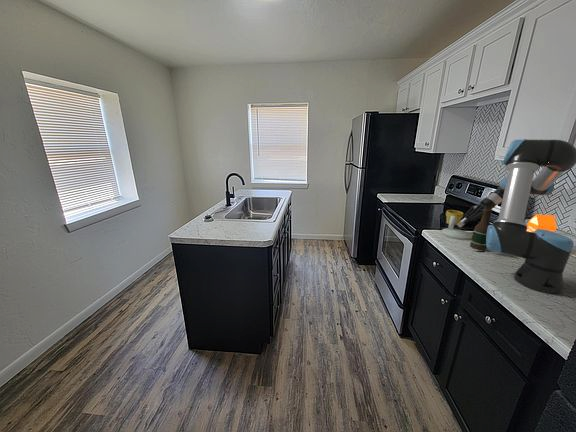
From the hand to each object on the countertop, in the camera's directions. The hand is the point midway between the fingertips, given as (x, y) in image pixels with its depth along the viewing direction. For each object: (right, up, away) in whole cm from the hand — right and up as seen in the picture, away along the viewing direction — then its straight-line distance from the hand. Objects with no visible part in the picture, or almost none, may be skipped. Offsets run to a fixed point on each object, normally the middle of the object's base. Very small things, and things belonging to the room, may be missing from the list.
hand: (458, 225), depth 160 cm
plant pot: (+9, 0, +19) cm, 21 cm away
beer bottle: (-4, -13, -22) cm, 25 cm away
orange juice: (+32, -12, -18) cm, 38 cm away
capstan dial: (-4, -6, -4) cm, 8 cm away
